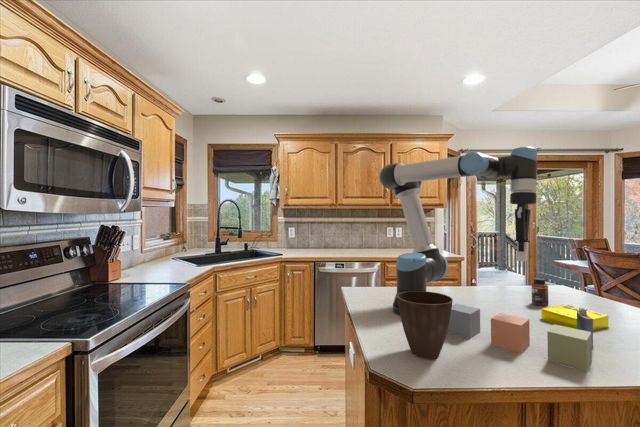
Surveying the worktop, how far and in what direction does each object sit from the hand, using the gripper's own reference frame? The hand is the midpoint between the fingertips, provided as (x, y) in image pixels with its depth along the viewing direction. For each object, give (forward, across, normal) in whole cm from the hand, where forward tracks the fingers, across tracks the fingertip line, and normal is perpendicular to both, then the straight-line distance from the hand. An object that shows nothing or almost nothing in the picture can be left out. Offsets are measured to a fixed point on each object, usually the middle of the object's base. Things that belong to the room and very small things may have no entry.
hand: (521, 261), depth 104 cm
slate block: (+25, -14, +14) cm, 32 cm away
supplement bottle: (+22, +42, 0) cm, 48 cm away
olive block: (+24, -17, -14) cm, 33 cm away
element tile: (+23, +23, -13) cm, 35 cm away
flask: (+24, +1, -16) cm, 29 cm away
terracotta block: (+25, -16, 0) cm, 29 cm away
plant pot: (+26, -38, +16) cm, 49 cm away
